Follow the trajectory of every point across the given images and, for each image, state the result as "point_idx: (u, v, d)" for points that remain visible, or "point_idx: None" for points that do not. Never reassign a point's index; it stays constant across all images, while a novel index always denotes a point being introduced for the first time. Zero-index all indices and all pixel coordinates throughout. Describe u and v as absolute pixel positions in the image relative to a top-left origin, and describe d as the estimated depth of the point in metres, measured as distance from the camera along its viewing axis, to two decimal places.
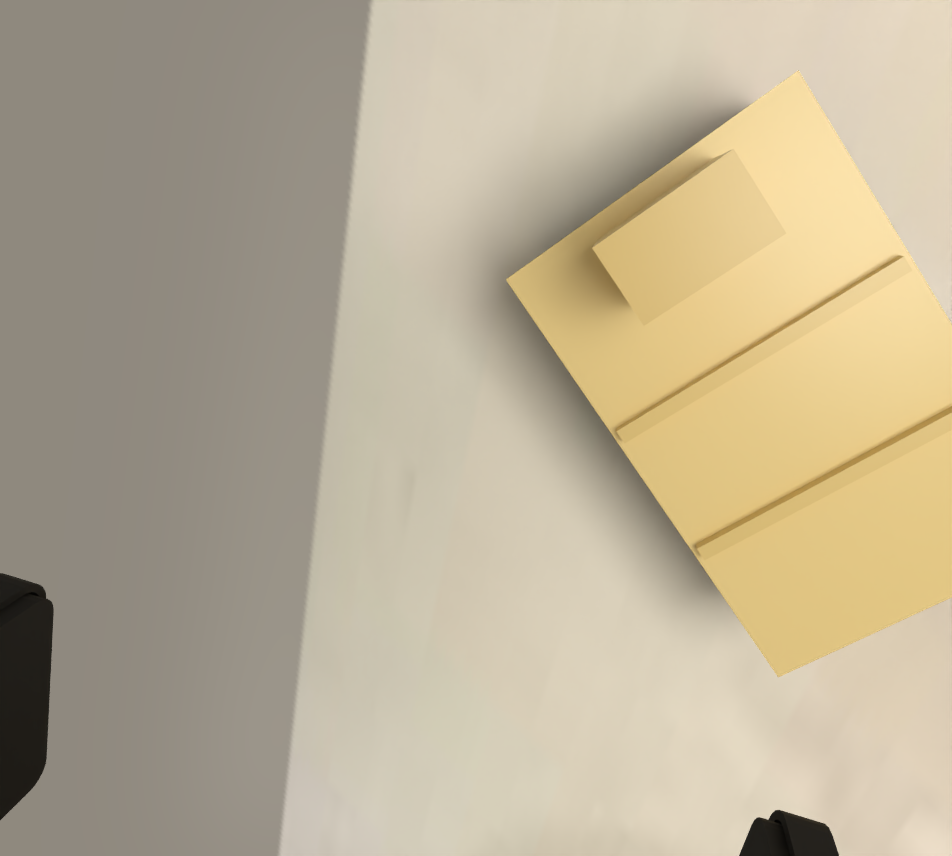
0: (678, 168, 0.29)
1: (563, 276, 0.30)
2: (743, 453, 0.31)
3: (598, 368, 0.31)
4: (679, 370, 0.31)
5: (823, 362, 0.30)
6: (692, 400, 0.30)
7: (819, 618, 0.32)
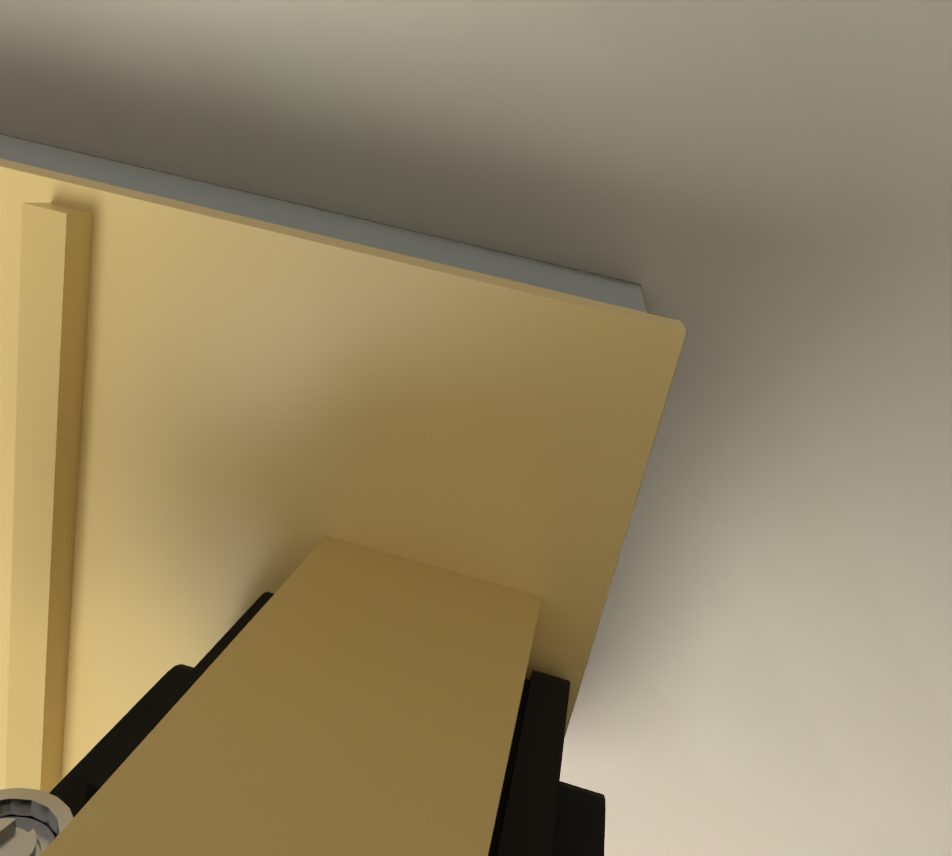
0: None
1: (545, 459, 0.10)
2: None
3: (266, 318, 0.10)
4: (122, 467, 0.11)
5: None
6: (19, 443, 0.10)
7: None
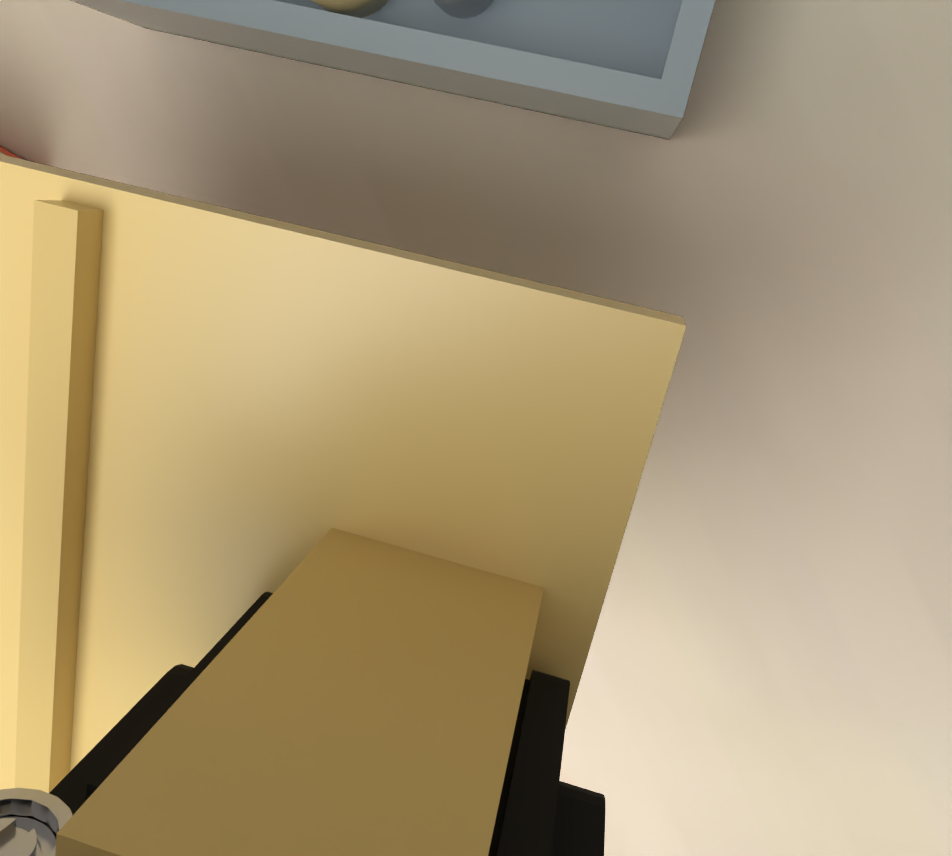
0: None
1: (547, 452, 0.10)
2: None
3: (274, 313, 0.10)
4: (131, 460, 0.11)
5: None
6: (30, 437, 0.11)
7: None
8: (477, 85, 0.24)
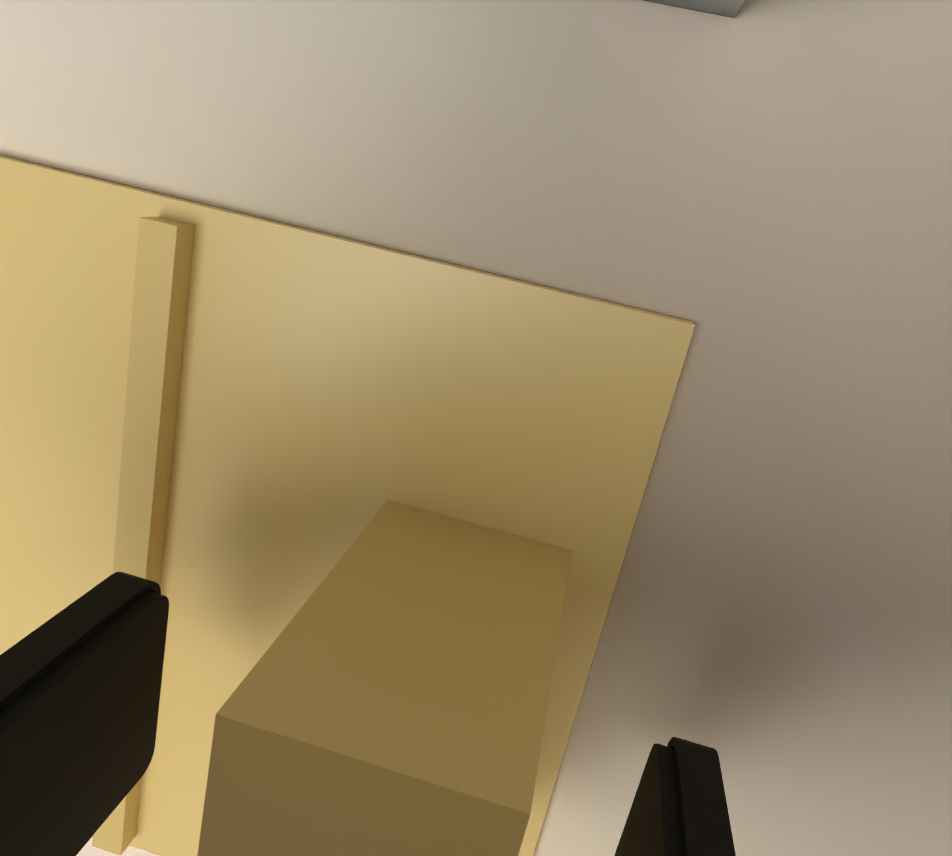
0: (540, 755, 0.13)
1: (575, 433, 0.12)
2: None
3: (341, 314, 0.12)
4: (212, 441, 0.13)
5: None
6: (128, 420, 0.12)
7: None
8: None
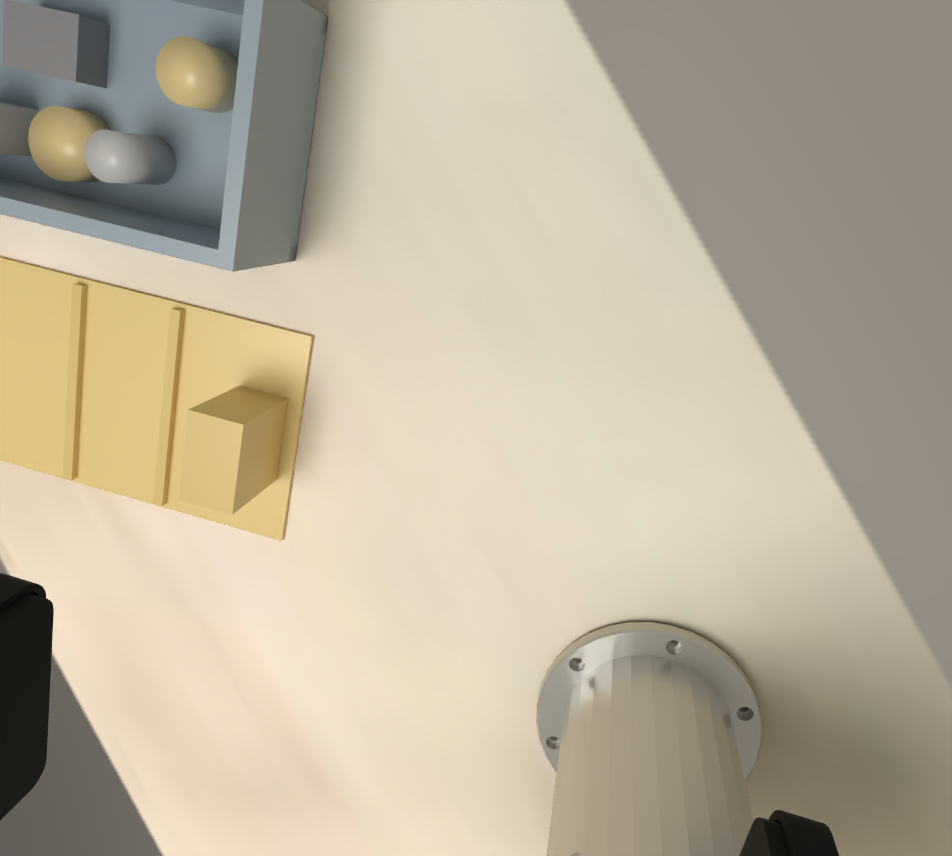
0: (286, 462, 0.45)
1: (286, 365, 0.43)
2: (121, 356, 0.45)
3: (224, 333, 0.43)
4: (190, 370, 0.44)
5: (141, 432, 0.46)
6: (166, 363, 0.44)
7: (0, 306, 0.45)
8: None
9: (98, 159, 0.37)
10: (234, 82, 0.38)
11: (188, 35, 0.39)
